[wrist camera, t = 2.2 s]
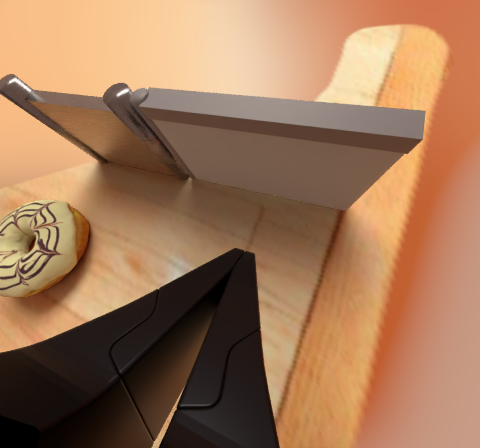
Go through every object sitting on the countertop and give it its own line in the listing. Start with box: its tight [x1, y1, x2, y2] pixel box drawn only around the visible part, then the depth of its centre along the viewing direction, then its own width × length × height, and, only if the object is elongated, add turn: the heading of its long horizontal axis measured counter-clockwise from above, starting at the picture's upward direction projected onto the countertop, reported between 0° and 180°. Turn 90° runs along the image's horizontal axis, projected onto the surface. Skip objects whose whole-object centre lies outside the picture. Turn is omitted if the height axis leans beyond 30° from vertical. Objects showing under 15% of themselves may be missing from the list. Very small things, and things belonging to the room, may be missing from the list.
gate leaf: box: [130, 88, 425, 211], centre depth 15 cm, size 17×2×10 cm, turn 72°
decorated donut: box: [0, 200, 89, 298], centre depth 21 cm, size 10×11×4 cm
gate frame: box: [0, 74, 189, 181], centre depth 19 cm, size 14×2×10 cm, turn 72°
